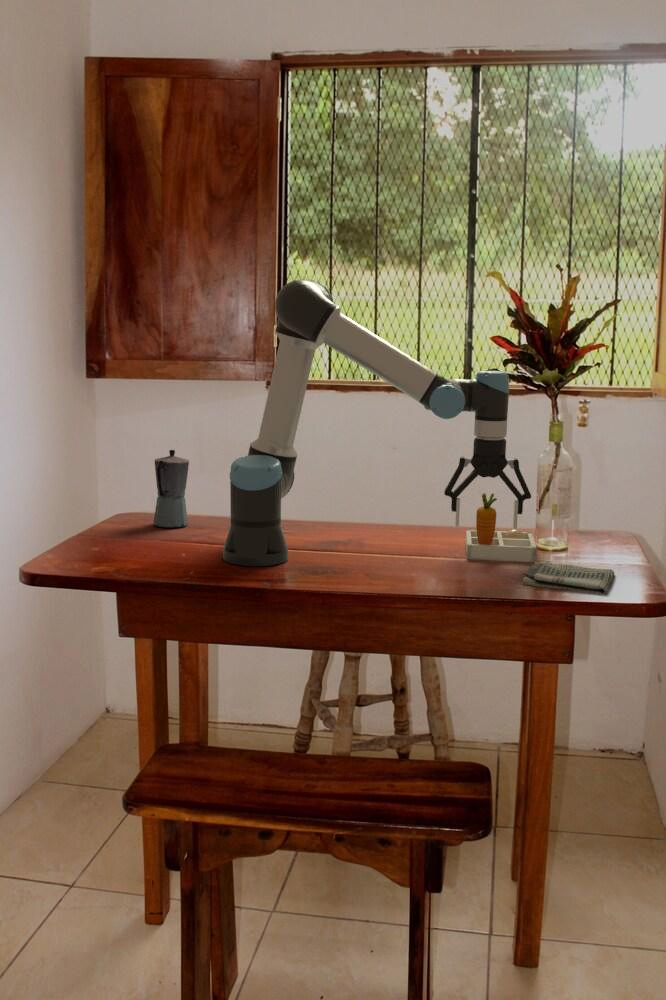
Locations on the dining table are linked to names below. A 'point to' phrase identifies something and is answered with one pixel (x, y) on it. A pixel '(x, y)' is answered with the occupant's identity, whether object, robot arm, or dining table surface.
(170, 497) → the moka pot
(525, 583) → the dish towel
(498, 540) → the carton
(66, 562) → the dining table surface
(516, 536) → the brown egg right
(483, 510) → the carrot
